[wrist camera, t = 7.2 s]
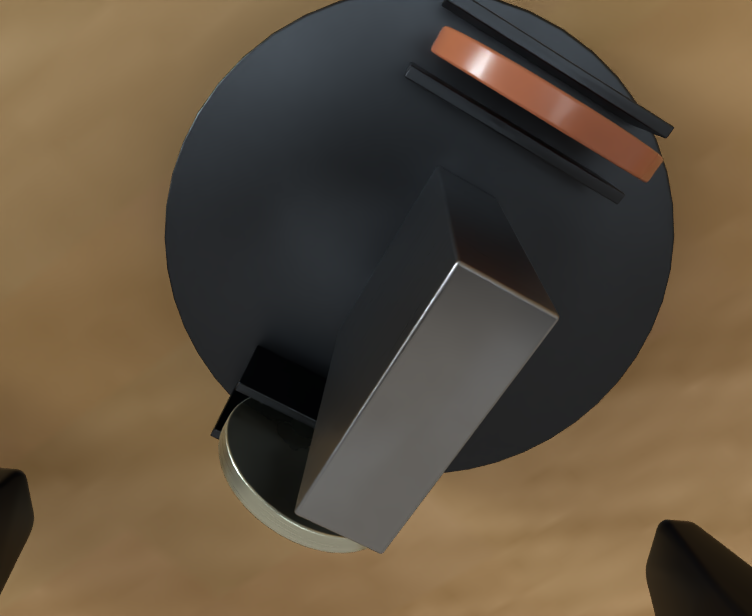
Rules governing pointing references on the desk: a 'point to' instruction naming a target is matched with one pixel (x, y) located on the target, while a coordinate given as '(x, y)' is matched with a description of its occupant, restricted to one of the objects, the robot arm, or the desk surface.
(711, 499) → the desk surface
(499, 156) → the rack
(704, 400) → the desk surface
